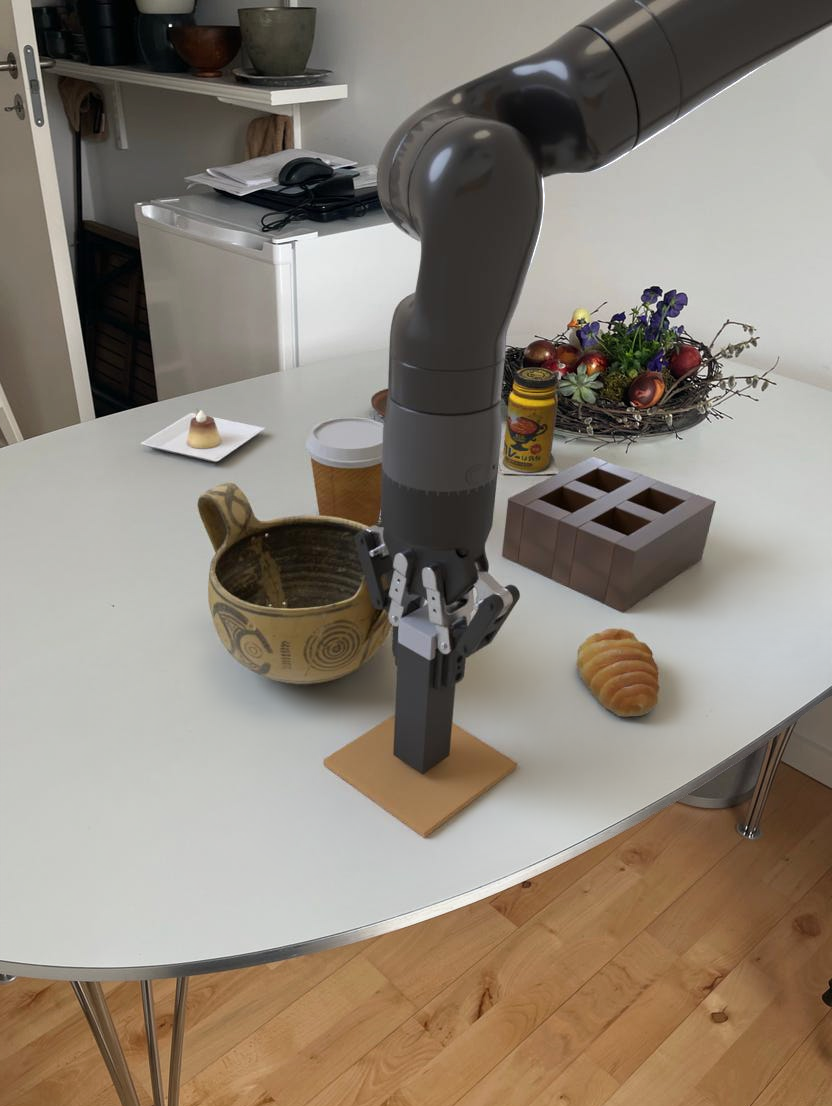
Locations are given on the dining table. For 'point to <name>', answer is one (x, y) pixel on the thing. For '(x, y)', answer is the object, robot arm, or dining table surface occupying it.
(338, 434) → the disposable coffee cup
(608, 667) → the pastry
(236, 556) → the ceramic bowl
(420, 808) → the cork mat
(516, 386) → the condiment
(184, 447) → the dessert
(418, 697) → the grey-capped tall post
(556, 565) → the holder
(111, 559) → the dining table surface
